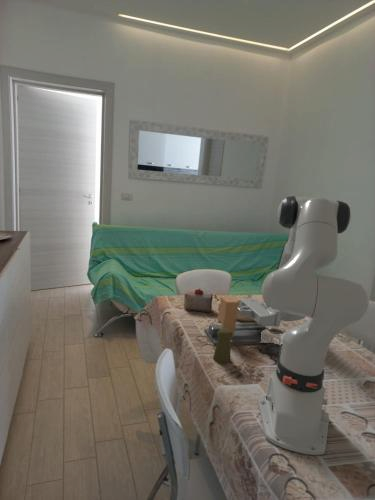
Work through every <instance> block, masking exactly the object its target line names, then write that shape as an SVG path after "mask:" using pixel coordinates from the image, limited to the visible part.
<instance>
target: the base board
mask: <svg viewBox="0 0 375 500" xmlns="http://www.w3.org/2000/svg"><path fill="white" fill-rule="evenodd" d="M203 331H204V333H205V335H206V336H207V338H208V339H209V340H210V342H211V343H212V345H213V346H216V345H217V342H218V337H216V338H212V337H211V336H210V335H209V333H208V332H209V328H204V330H203ZM256 331H257V330H244V331H235V333H234V337H232V339H231V340H230V346H235V345H237V346H238V345H239V346H240V345H261V344H260V342H261V336H260V335H259V334H258V333H257V332H256Z"/></svg>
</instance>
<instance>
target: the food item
mask: <svg viewBox="0 0 375 500" xmlns="http://www.w3.org/2000/svg"><path fill="white" fill-rule="evenodd" d="M213 298H214V297H213V293H211V292H210V293H208V292H204V291H203V290H201V288H197V289H195V290H194V291H190V290H189V291H188V290H186V292H185V293H184V297H183V309H184V311H196V312H203V313H212V309H213V306H212V305H213Z"/></svg>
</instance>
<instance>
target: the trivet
mask: <svg viewBox="0 0 375 500" xmlns="http://www.w3.org/2000/svg"><path fill="white" fill-rule="evenodd" d="M236 300H237V299H236ZM237 301H238V302H240V300H237ZM238 307H240V306H239V303H238ZM219 308H220V303H219V304H218V308H217V309H218V310H217V311H219ZM236 322H237V323H257V322H256V321H255V320H254V319H253V318H252V317H251V316H247V315H240V314H239V313H238V312H237V318H236Z"/></svg>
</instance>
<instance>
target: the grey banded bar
mask: <svg viewBox="0 0 375 500" xmlns="http://www.w3.org/2000/svg"><path fill="white" fill-rule="evenodd" d="M221 328H222V323H218V322H216V323H215V322H214V323H211V324H210V325H209V326H208V329H209V332H208V333H209V335H210V336H211V337H212V338H216V337H218V336H217V333H218V330H219V329H221ZM265 329H267V330H268V326H262V325H259V324H258V323H244V322H236V326H235V331H244V330H257V331H256V332H257V333H258V334H259V335H260V336H261V332H262V331H263V330H265Z"/></svg>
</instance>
